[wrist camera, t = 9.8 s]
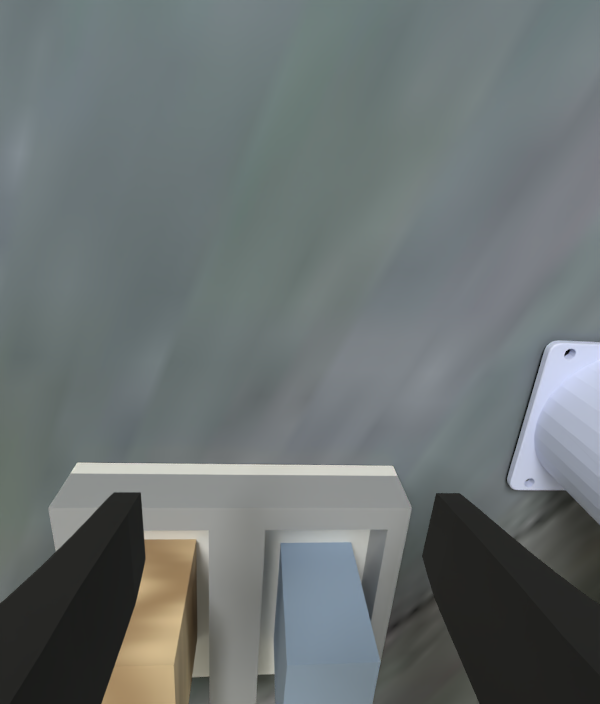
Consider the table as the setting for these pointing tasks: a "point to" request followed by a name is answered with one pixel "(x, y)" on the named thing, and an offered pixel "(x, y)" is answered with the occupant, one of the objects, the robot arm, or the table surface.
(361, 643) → the slate-blue plug block
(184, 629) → the maple plug block
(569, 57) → the table surface
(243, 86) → the table surface
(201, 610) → the grey socket board
